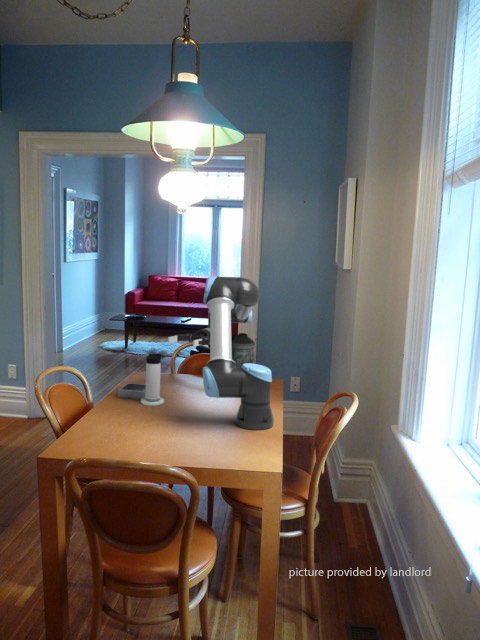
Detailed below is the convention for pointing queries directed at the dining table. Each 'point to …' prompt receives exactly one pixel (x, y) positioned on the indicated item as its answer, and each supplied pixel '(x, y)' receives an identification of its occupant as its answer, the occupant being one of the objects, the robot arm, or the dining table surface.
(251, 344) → the beer stein
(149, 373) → the travel mug
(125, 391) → the square frame
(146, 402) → the disc
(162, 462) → the dining table surface
